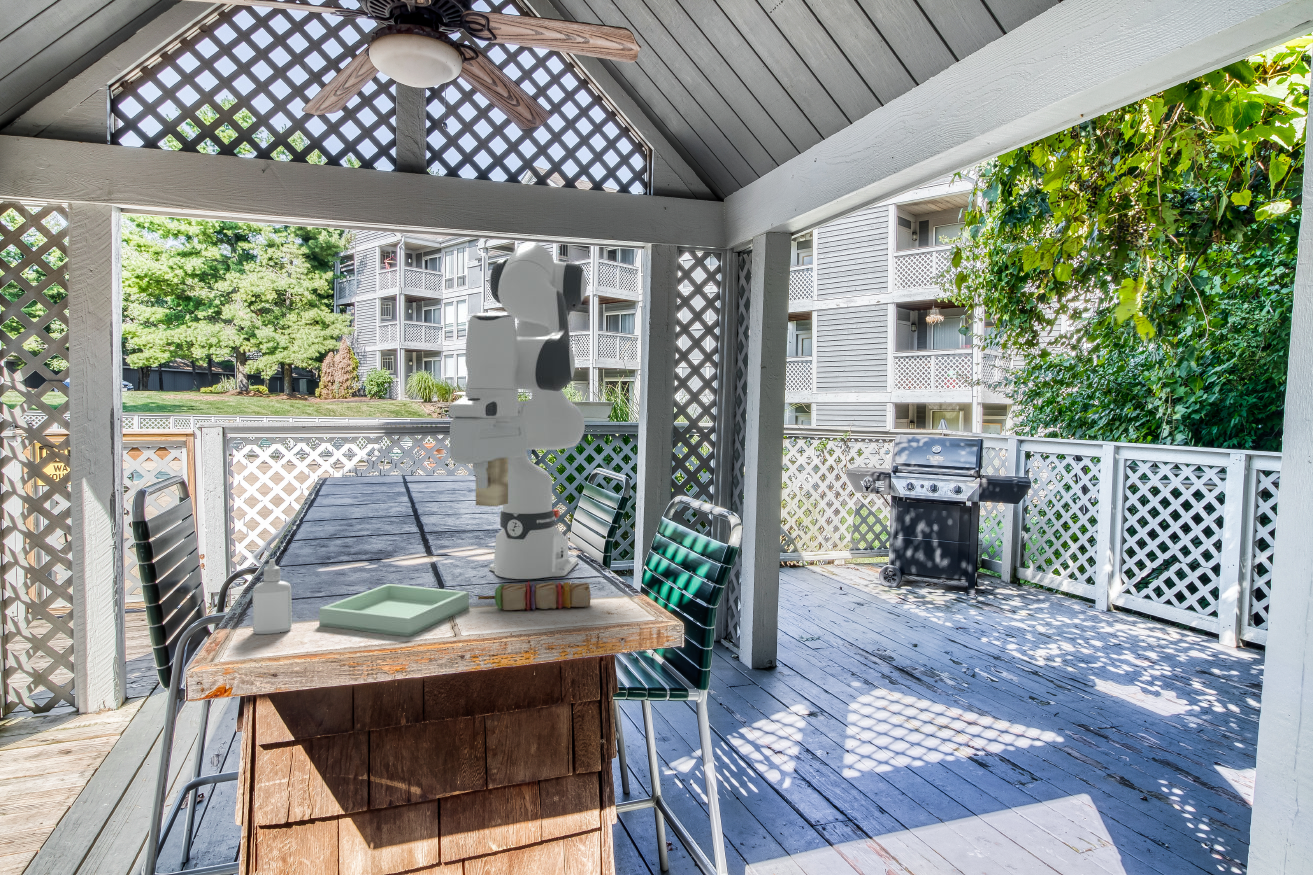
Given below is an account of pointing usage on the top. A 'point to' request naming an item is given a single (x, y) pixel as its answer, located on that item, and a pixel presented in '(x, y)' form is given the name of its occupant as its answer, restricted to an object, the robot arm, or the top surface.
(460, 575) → the top surface
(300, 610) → the top surface
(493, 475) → the birch block
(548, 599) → the skewer
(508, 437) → the robot arm
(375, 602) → the tray
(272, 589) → the eye dropper bottle
